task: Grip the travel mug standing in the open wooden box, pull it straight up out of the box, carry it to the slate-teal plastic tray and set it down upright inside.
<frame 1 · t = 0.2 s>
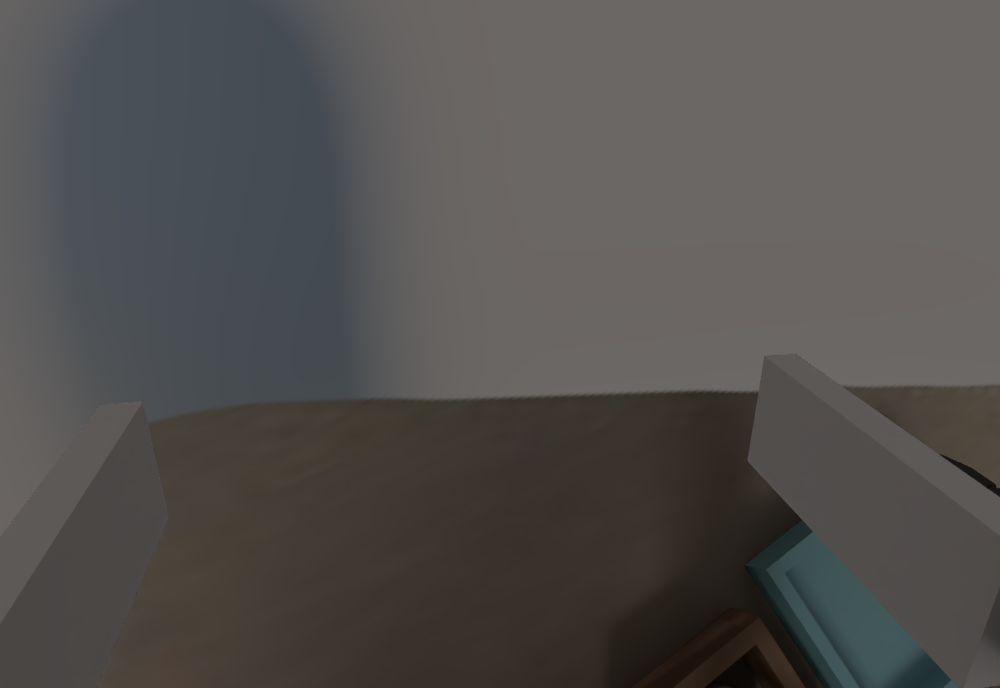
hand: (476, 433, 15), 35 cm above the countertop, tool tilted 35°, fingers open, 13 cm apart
tray: (871, 593, 53), on the countertop
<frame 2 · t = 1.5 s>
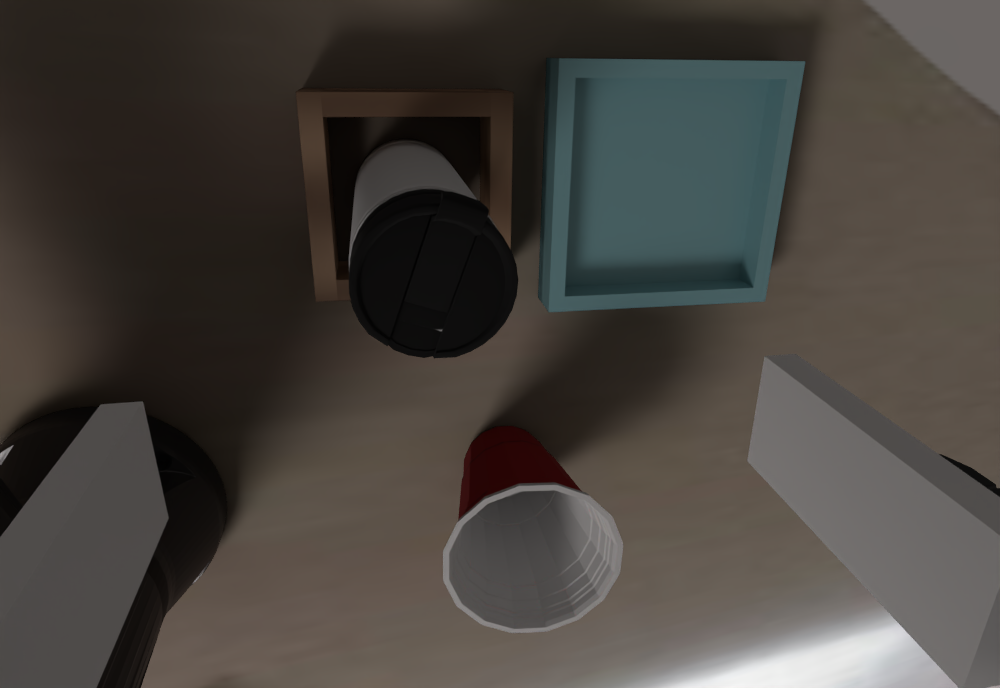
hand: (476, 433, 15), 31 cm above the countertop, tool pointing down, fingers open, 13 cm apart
plastic cup: (499, 456, 52), on the countertop
tray: (653, 183, 45), on the countertop
travel mug: (407, 187, 43), resting in open wooden box
open wooden box: (407, 187, 43), on the countertop
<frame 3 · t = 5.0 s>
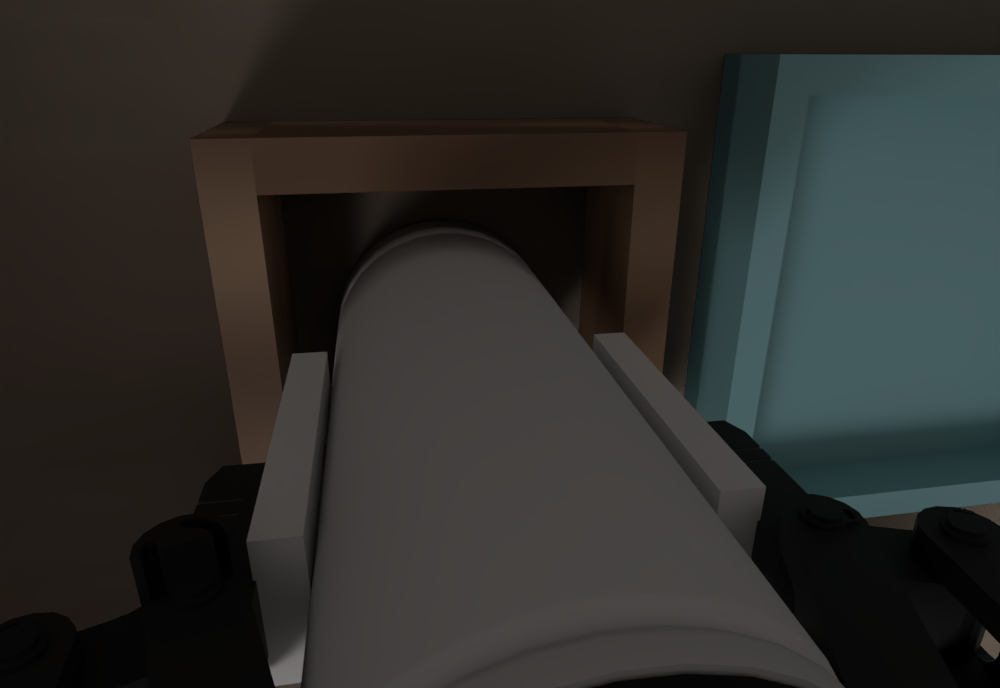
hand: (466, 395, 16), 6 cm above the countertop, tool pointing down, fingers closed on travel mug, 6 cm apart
tray: (896, 285, 24), on the countertop
travel mug: (442, 309, 22), resting in open wooden box, touching gripper
open wooden box: (442, 311, 22), on the countertop
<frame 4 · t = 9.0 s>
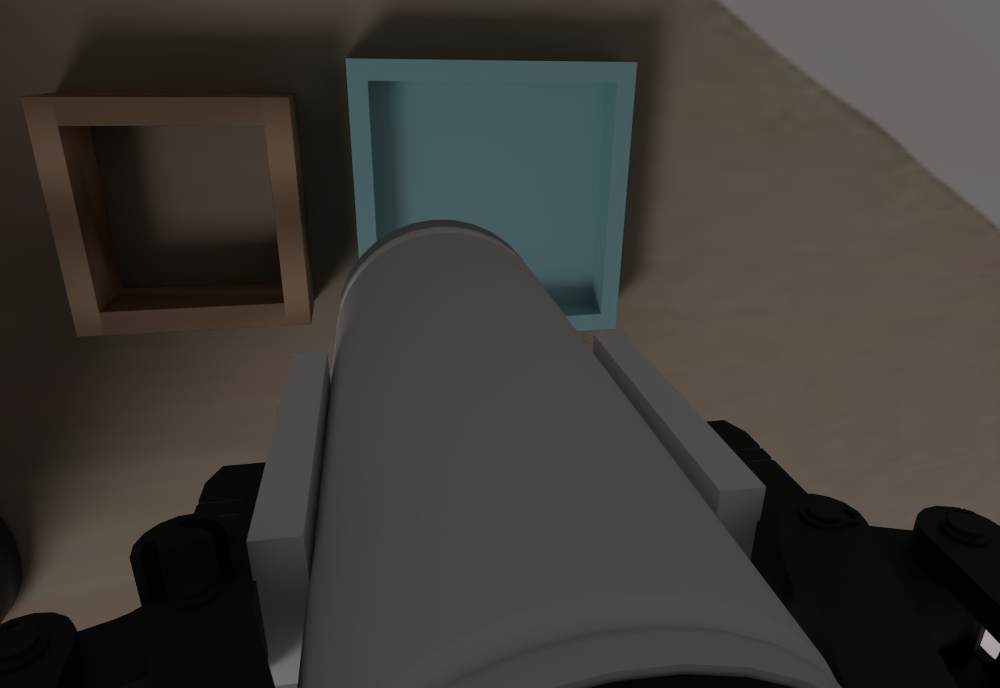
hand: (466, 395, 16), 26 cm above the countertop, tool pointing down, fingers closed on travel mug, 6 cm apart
tray: (485, 198, 41), on the countertop
travel mug: (441, 308, 22), point 19 cm above the countertop, touching gripper
open wooden box: (196, 205, 38), on the countertop
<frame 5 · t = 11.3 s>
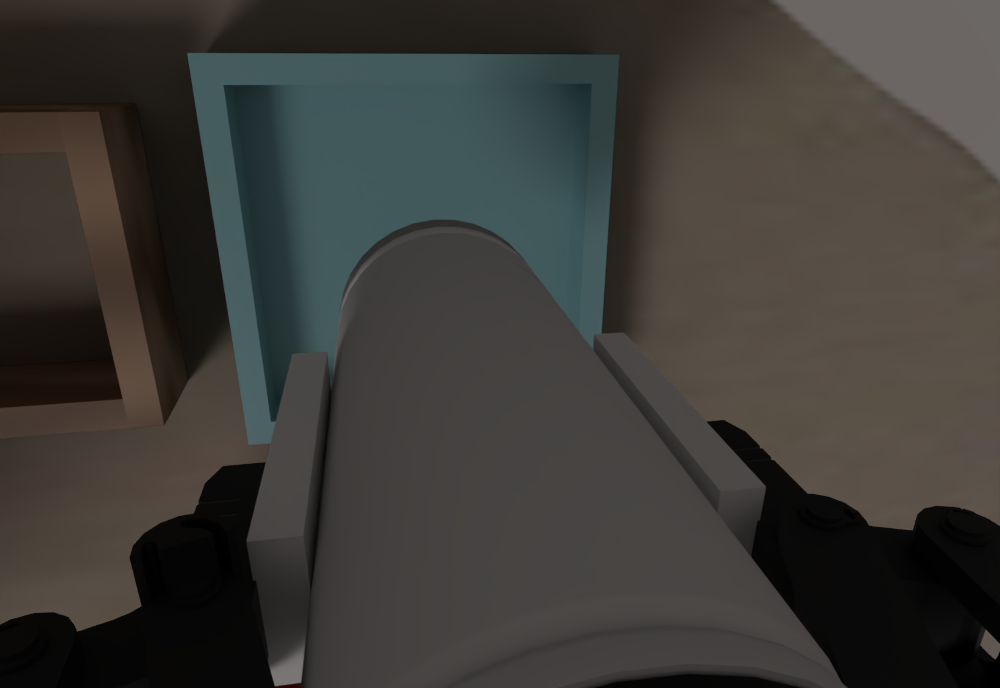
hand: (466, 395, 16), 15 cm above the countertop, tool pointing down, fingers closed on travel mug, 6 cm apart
tray: (417, 242, 30), on the countertop
travel mug: (442, 308, 22), point 9 cm above the countertop, touching gripper
open wooden box: (7, 259, 27), on the countertop
when the fingers open (8 cm above the countertop, at t = 13.3 s): travel mug drops 1 cm, resting on tray.
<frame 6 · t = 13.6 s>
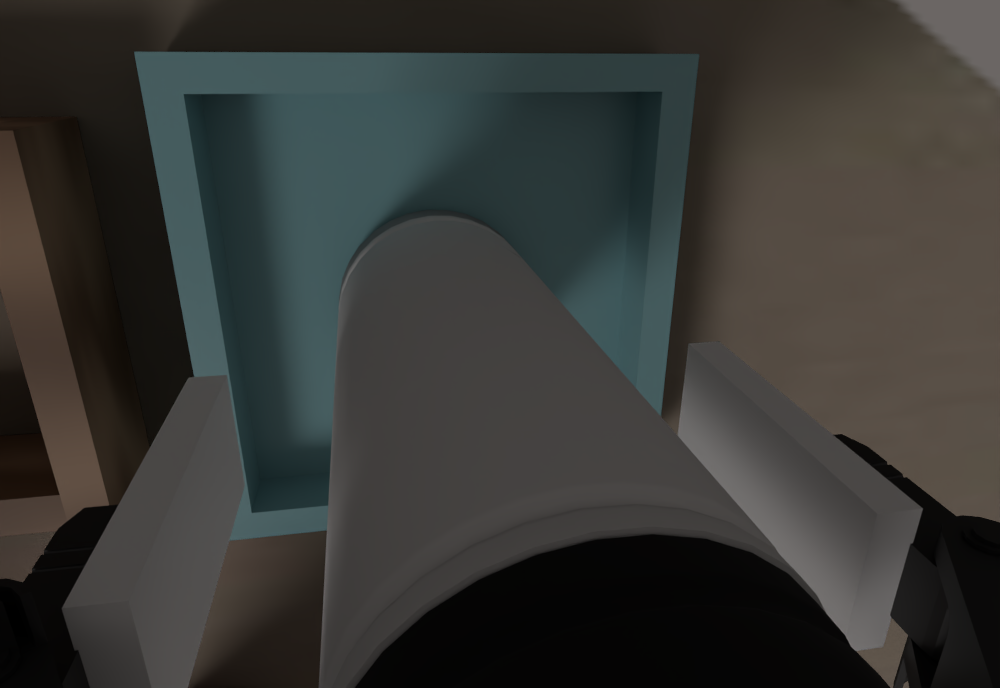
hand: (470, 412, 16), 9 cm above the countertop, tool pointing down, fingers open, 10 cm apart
tray: (434, 286, 24), on the countertop
travel mug: (436, 294, 23), point 1 cm above the countertop, touching tray
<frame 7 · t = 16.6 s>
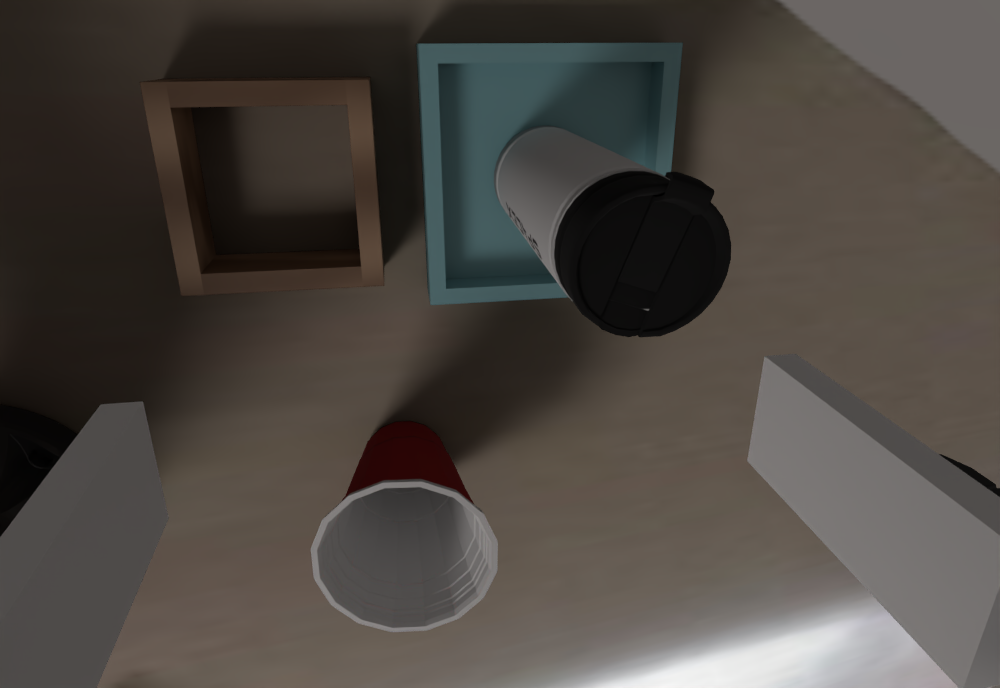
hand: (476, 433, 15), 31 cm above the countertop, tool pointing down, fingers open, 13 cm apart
plastic cup: (401, 452, 51), on the countertop
tray: (540, 171, 44), on the countertop
travel mug: (542, 173, 43), point 1 cm above the countertop, touching tray
open wooden box: (281, 179, 42), on the countertop
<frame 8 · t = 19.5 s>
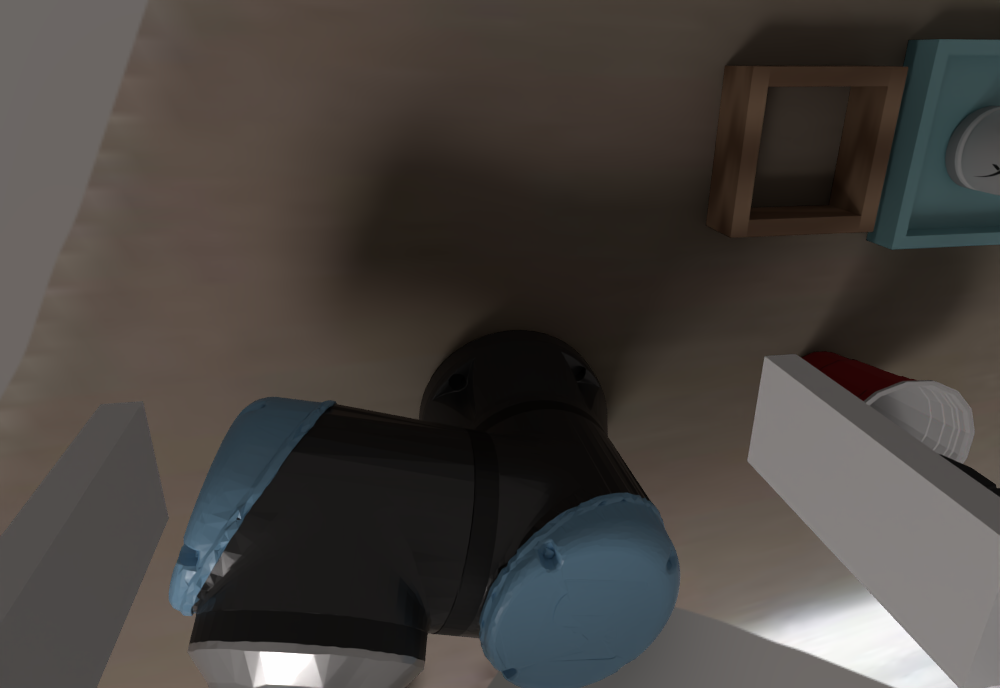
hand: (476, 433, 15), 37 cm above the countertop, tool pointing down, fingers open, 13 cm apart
plastic cup: (809, 378, 61), on the countertop
tray: (970, 143, 55), on the countertop
travel mug: (978, 145, 54), point 1 cm above the countertop, touching tray
open wooden box: (786, 147, 52), on the countertop
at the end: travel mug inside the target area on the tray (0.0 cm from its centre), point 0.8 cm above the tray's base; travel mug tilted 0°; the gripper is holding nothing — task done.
